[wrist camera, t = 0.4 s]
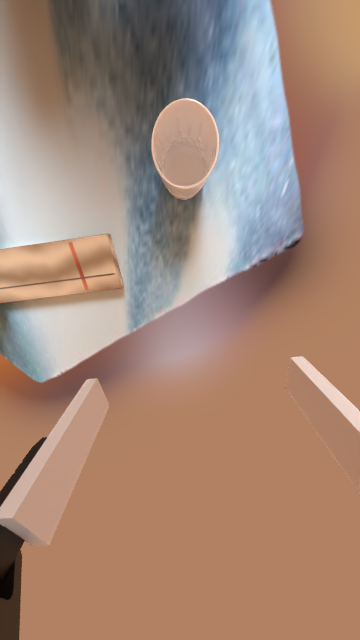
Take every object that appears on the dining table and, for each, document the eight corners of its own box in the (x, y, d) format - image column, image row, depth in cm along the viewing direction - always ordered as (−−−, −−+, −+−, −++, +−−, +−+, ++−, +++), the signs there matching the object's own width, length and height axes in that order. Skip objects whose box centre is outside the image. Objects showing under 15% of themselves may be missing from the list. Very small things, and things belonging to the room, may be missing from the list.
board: (-53, 257, 35) (-66, 258, 33) (110, 234, 33) (105, 234, 31) (-22, 303, 39) (-32, 307, 37) (123, 285, 37) (120, 288, 35)
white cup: (207, 202, 30) (217, 186, 21) (163, 205, 31) (155, 191, 22) (207, 143, 27) (220, 94, 18) (158, 147, 27) (146, 101, 18)
